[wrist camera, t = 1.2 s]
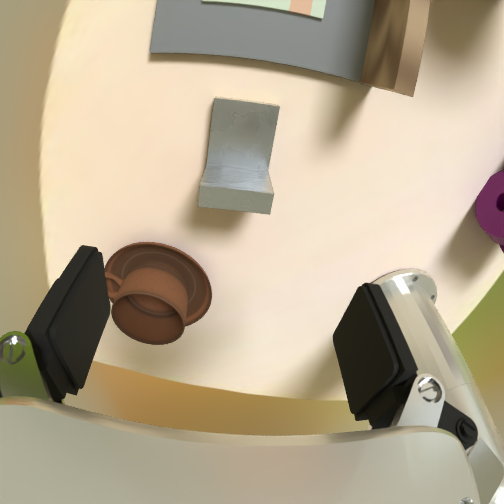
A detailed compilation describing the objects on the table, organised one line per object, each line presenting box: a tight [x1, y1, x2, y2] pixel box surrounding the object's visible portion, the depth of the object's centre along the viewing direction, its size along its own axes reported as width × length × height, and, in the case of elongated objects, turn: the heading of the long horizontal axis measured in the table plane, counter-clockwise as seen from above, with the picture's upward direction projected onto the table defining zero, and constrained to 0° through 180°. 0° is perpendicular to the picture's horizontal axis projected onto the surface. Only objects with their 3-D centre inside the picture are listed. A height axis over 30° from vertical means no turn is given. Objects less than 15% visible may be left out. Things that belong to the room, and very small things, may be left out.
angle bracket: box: [198, 97, 280, 215], centre depth 21 cm, size 7×5×6 cm
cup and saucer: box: [104, 242, 212, 345], centre depth 29 cm, size 12×12×6 cm
